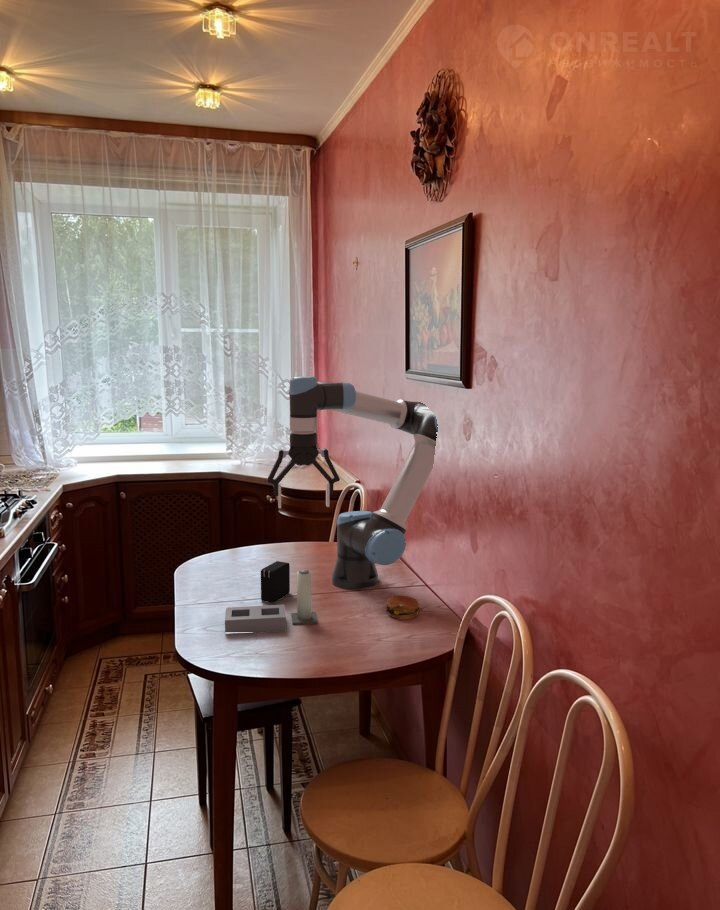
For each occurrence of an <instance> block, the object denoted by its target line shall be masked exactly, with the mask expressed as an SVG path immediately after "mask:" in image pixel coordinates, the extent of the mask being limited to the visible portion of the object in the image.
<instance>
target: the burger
mask: <svg viewBox="0 0 720 910" xmlns="http://www.w3.org/2000/svg"><path fill="white" fill-rule="evenodd" d="M385 606H386V607H385V608H386V609H385V610H386V612H388V615H389V616H390V617H392V618H393V619H394V618H397V619H398V620H401V621H409V620H413V619H415V618H416V617H418V614H419V613H420V611H421V607H420V603H419V601H418V600H417V599H416V598H414V597H413V596H409V595H403V594H399V595H394V596H391V597H390V598H388V599H387V601H386V602H385Z"/></svg>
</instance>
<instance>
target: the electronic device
mask: <svg viewBox="0 0 720 910" xmlns="http://www.w3.org/2000/svg"><path fill="white" fill-rule="evenodd" d="M290 572H291V571H290V563H289V562H285V561H279V560H276V561H274V562H272V563H271V564H269V565H267V566H265V567H263V568H261V570H260V600H261V601H262V602H266V603H271V604H275V603H276V601H277V602H278V601H280V600H282V599H283V598H284V597H286V596H288V595H289V594H290V590H291V589H290V588H291V586H290V585H291V581H290V580H291V577H290V574H291V573H290Z"/></svg>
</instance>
